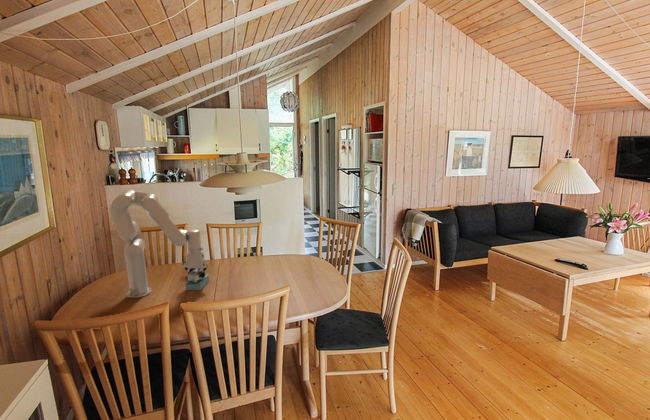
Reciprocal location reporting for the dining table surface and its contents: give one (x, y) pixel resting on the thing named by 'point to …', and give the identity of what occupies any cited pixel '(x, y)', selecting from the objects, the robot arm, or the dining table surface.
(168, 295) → the dining table surface
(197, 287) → the stand
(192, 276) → the housing
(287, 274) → the dining table surface
